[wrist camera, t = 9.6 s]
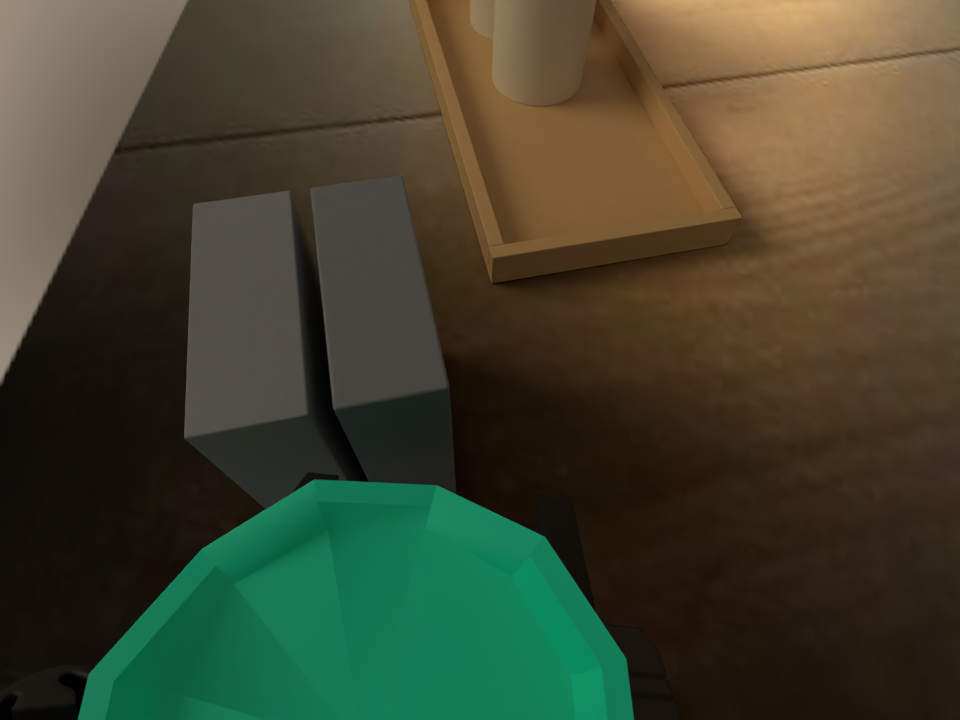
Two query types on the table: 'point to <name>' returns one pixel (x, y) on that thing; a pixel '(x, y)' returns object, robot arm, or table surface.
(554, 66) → the cream candle
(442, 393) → the grey book
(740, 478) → the table surface
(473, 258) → the table surface
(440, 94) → the tray
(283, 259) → the grey book
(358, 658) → the candle
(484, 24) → the cream candle
